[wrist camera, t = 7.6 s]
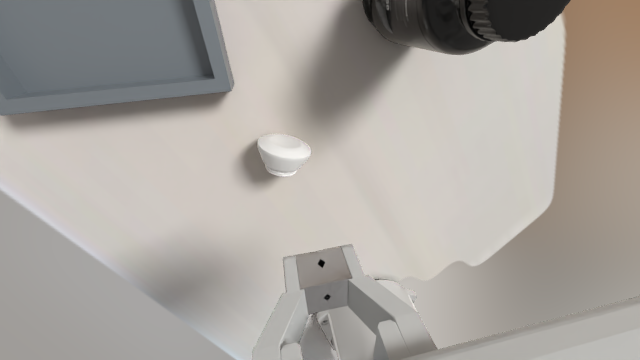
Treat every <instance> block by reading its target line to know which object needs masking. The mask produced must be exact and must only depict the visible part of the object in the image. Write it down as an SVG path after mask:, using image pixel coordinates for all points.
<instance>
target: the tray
mask: <svg viewBox="0 0 640 360" xmlns="http://www.w3.org/2000/svg"><path fill="white" fill-rule="evenodd" d="M233 86H234V81H233V77H232V72H231V68H230V64H229V60H228V56H227V51H226V47H225V43H224V39H223V35H222V31H221V26H220V22H219V18H218V14H217V10H216V6H215V1H214V0H0V115H11V114H20V113H30V112H39V111H48V110H58V109H67V108H77V107H86V106H95V105H105V104H114V103H124V102H133V101H142V100H152V99H161V98H171V97H180V96H189V95H199V94H208V93H217V92H227V91H232V89H233Z"/></svg>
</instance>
